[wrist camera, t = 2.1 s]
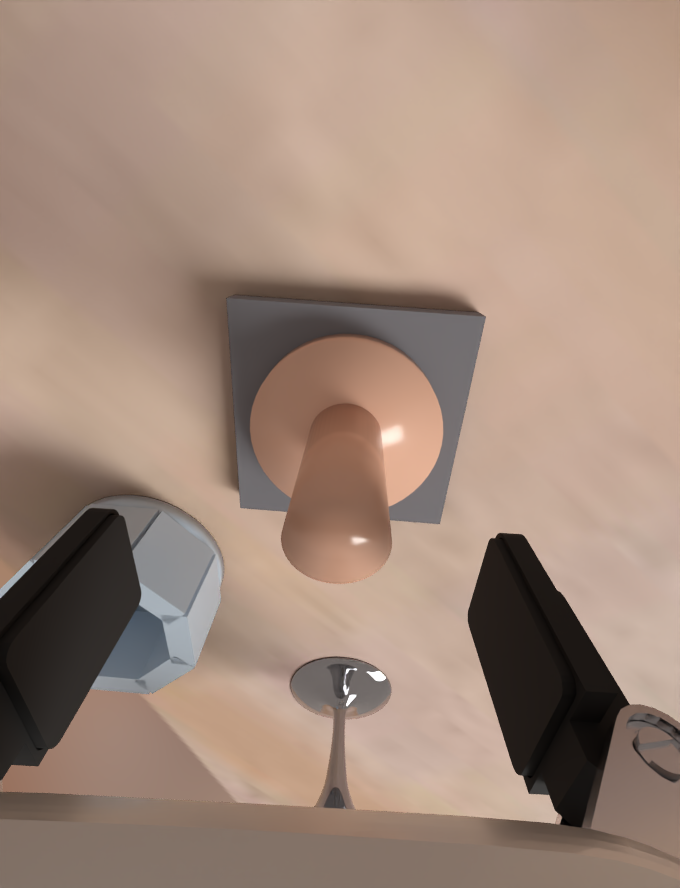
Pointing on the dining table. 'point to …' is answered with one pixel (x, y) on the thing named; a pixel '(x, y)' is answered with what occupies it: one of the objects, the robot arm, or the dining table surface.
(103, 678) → the bowl
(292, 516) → the lid
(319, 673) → the wine glass
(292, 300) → the mat
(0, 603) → the robot arm
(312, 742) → the dining table surface
